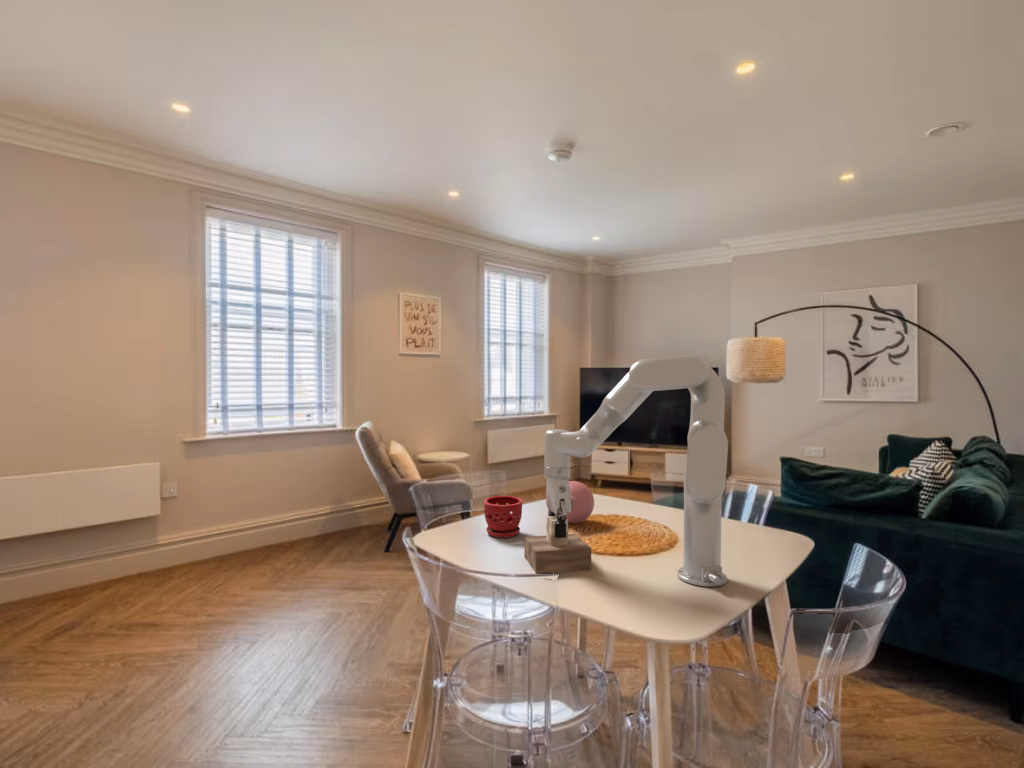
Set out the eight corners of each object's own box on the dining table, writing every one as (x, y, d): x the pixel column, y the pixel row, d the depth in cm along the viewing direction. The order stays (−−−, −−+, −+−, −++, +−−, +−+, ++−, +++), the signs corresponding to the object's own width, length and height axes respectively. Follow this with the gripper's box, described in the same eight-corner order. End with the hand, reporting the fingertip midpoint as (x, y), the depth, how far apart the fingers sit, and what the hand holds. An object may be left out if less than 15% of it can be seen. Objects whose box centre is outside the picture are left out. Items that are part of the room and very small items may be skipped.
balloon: (540, 528, 192) (540, 485, 192) (561, 515, 209) (562, 476, 209) (580, 534, 185) (581, 489, 184) (599, 520, 202) (599, 480, 202)
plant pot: (478, 531, 187) (478, 497, 187) (512, 527, 192) (512, 494, 192) (492, 542, 175) (492, 505, 175) (528, 537, 180) (528, 501, 180)
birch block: (567, 544, 153) (568, 520, 153) (551, 545, 152) (551, 520, 152) (562, 539, 158) (562, 515, 158) (546, 540, 157) (546, 516, 157)
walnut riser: (591, 569, 150) (591, 548, 150) (535, 573, 147) (536, 551, 147) (575, 553, 164) (575, 533, 164) (524, 556, 161) (524, 536, 160)
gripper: (579, 477, 147) (578, 542, 148) (561, 467, 164) (560, 525, 164) (553, 478, 146) (552, 543, 146) (537, 467, 163) (537, 526, 163)
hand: (556, 533), depth 155 cm, fingers open, 6 cm apart
